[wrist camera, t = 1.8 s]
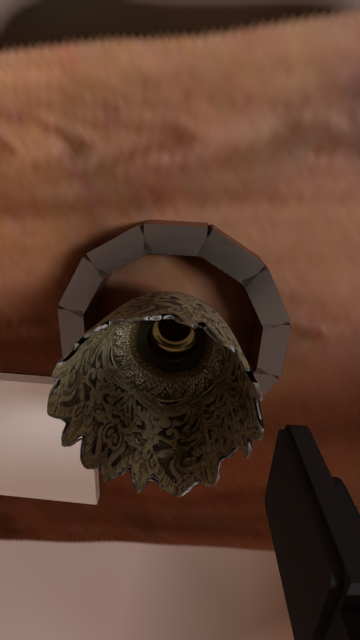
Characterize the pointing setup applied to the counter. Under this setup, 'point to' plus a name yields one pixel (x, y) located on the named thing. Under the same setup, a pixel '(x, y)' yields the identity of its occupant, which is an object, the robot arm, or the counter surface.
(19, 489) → the stone coaster
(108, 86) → the counter surface
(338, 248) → the counter surface
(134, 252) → the stone ring
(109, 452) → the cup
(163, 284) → the counter surface
